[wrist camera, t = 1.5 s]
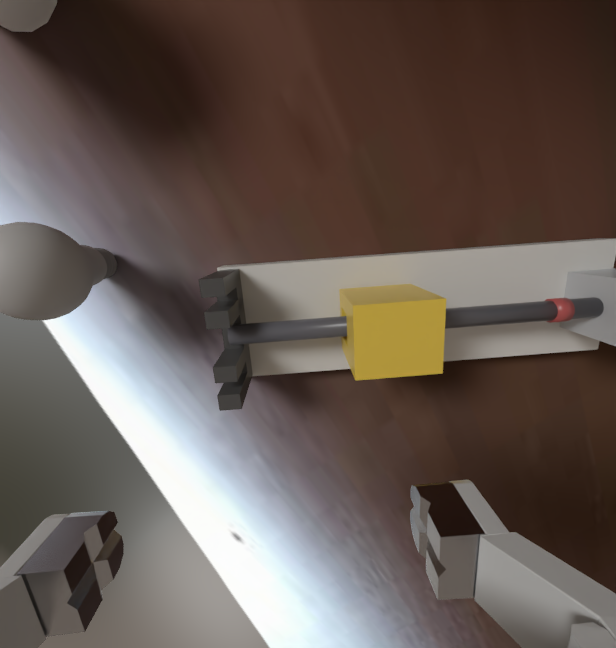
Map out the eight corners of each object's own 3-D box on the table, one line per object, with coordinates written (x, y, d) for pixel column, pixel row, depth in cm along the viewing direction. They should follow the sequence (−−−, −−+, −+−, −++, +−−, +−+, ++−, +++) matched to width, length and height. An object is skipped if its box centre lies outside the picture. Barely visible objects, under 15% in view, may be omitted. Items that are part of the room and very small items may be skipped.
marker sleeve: (339, 288, 26) (352, 305, 20) (410, 283, 27) (446, 298, 20) (341, 347, 28) (355, 380, 21) (409, 342, 28) (442, 373, 22)
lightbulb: (157, 268, 28) (73, 287, 18) (109, 310, 29) (1, 352, 18) (105, 211, 27) (-21, 194, 16) (56, 256, 28) (-95, 269, 17)
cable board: (222, 265, 28) (194, 276, 21) (597, 238, 29) (707, 239, 21) (237, 369, 31) (217, 413, 23) (579, 342, 31) (671, 376, 24)
